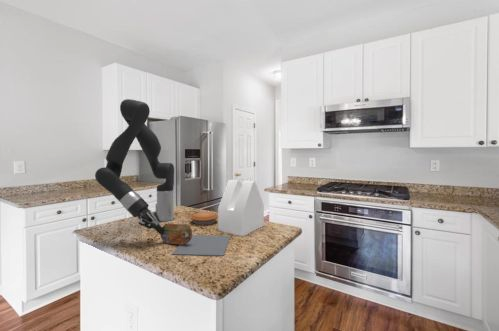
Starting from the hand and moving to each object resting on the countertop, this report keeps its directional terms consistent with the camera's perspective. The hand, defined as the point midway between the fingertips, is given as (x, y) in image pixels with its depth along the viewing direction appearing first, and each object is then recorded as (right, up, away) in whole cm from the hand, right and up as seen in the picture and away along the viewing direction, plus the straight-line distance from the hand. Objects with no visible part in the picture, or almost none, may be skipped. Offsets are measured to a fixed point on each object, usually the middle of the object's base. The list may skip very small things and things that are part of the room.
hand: (162, 232), depth 104 cm
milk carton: (+33, -4, +23) cm, 40 cm away
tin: (+6, -5, 0) cm, 8 cm away
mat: (+18, -5, 0) cm, 19 cm away
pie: (+11, -4, +34) cm, 36 cm away
